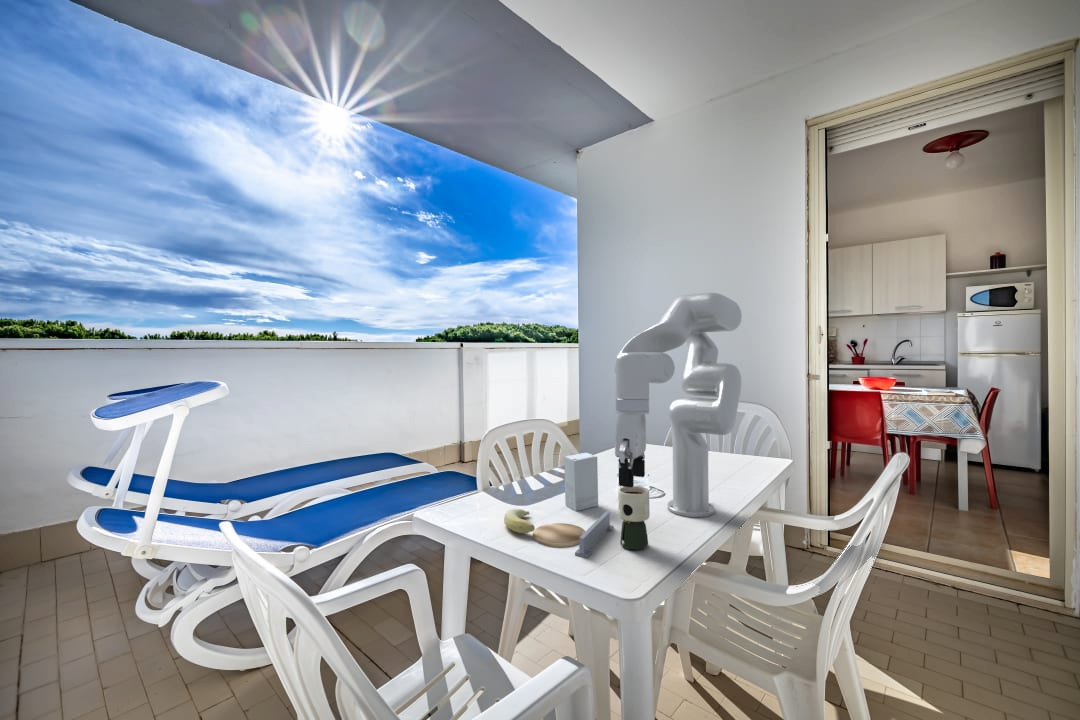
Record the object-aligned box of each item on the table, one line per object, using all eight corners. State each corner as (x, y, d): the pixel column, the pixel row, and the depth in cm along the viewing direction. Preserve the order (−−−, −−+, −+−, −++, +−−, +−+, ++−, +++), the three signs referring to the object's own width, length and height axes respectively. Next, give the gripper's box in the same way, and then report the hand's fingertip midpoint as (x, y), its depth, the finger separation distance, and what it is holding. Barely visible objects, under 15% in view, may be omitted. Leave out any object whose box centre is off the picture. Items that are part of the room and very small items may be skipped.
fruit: (505, 538, 108) (504, 525, 108) (503, 517, 123) (502, 505, 123) (535, 535, 109) (534, 521, 109) (529, 514, 124) (528, 502, 124)
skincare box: (587, 500, 136) (586, 451, 136) (599, 506, 131) (598, 455, 130) (563, 505, 132) (563, 455, 132) (575, 512, 127) (574, 459, 126)
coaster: (547, 522, 119) (547, 519, 119) (593, 530, 113) (593, 527, 113) (523, 541, 108) (523, 538, 108) (573, 551, 102) (573, 548, 102)
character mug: (608, 540, 108) (607, 485, 107) (633, 534, 110) (632, 481, 110) (635, 558, 98) (634, 499, 97) (662, 552, 100) (661, 494, 100)
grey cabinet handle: (602, 526, 116) (602, 510, 116) (613, 528, 115) (613, 512, 115) (574, 555, 100) (574, 537, 100) (587, 557, 98) (587, 539, 98)
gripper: (626, 402, 113) (626, 471, 113) (604, 409, 97) (604, 488, 97) (657, 404, 109) (657, 474, 109) (638, 411, 94) (638, 493, 94)
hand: (632, 481), depth 103 cm, fingers open, 9 cm apart
